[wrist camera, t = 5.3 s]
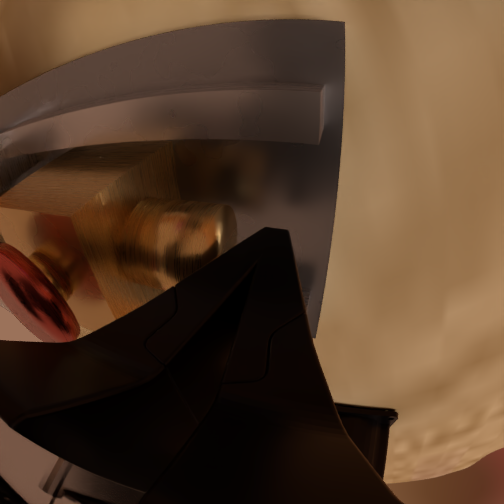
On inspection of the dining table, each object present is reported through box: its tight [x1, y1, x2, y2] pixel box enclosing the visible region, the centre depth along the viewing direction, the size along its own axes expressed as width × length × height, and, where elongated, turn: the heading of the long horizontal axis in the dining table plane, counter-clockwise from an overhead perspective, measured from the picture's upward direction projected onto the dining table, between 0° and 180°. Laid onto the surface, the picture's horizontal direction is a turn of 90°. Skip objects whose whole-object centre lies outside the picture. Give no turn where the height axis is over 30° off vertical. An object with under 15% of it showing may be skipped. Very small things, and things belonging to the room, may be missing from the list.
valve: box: [0, 141, 237, 342], centre depth 9 cm, size 11×5×6 cm, turn 91°
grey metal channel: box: [0, 19, 345, 338], centre depth 10 cm, size 21×12×6 cm, turn 93°
